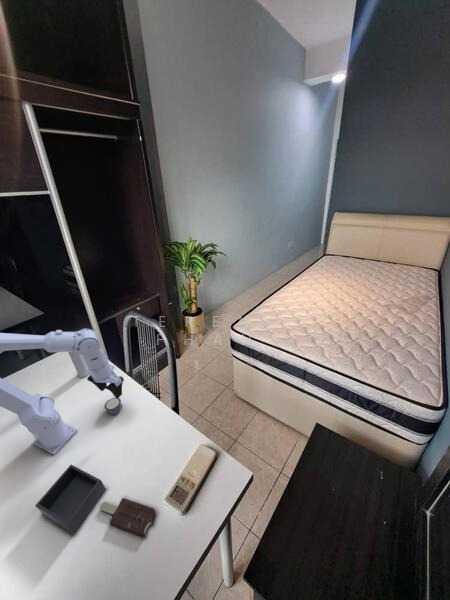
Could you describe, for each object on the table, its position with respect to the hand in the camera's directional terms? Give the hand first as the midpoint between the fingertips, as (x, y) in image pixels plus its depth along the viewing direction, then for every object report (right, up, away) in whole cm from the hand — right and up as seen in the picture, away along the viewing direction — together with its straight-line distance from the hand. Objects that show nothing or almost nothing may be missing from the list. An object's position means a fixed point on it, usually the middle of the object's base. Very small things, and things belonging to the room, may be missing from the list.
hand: (111, 392), depth 85 cm
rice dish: (-1, -8, +5) cm, 9 cm away
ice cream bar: (+14, -23, -23) cm, 35 cm away
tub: (0, -22, -20) cm, 29 cm away
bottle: (-22, 0, +22) cm, 31 cm away
